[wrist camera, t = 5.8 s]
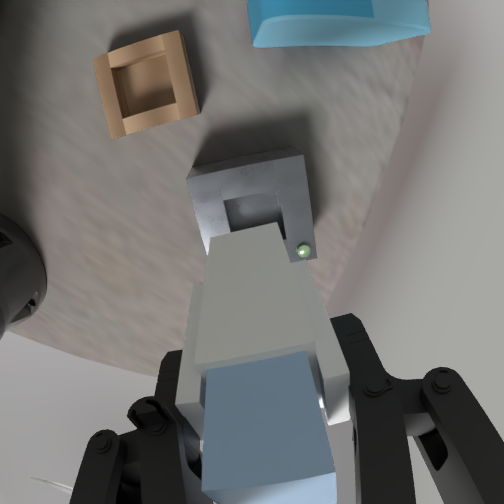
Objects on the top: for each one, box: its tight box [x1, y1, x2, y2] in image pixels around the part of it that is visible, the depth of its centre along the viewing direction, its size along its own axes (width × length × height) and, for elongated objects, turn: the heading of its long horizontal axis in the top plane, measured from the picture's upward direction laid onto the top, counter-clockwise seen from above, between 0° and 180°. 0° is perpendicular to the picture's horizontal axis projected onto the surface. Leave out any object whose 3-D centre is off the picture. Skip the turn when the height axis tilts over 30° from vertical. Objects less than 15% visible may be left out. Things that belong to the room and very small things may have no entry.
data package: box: [247, 0, 431, 48], centre depth 19 cm, size 12×4×12 cm, turn 97°
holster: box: [93, 30, 200, 139], centre depth 25 cm, size 8×8×3 cm
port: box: [186, 147, 317, 263], centre depth 30 cm, size 10×10×5 cm
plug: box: [194, 222, 337, 504], centre depth 12 cm, size 4×4×13 cm
